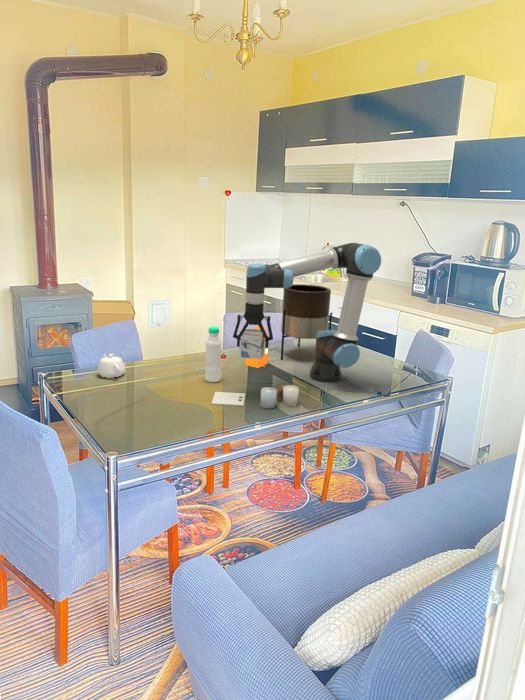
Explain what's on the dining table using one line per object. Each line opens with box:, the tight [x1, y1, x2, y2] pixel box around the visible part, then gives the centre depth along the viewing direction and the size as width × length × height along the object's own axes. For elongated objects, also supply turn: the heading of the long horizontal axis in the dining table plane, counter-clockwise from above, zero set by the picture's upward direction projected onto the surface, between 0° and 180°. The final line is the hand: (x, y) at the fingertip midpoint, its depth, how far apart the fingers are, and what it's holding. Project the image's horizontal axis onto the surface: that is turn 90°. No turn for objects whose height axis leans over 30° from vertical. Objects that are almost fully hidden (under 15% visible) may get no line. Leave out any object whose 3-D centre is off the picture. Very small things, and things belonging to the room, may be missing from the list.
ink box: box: [240, 327, 264, 360], centre depth 215 cm, size 9×5×12 cm, turn 71°
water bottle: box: [204, 326, 222, 383], centre depth 232 cm, size 7×7×25 cm
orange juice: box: [245, 325, 269, 369], centre depth 259 cm, size 8×9×20 cm
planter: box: [280, 283, 333, 361], centre depth 274 cm, size 27×26×38 cm
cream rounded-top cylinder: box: [281, 384, 300, 407], centre depth 212 cm, size 6×6×7 cm
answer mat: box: [211, 391, 246, 407], centre depth 214 cm, size 13×13×1 cm
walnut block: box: [272, 385, 285, 402], centre depth 217 cm, size 5×5×5 cm
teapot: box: [96, 353, 127, 379], centre depth 235 cm, size 20×12×10 cm, turn 34°
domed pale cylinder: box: [259, 386, 277, 409], centre depth 208 cm, size 6×6×7 cm
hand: (252, 354), depth 216 cm, fingers closed on ink box, 9 cm apart
